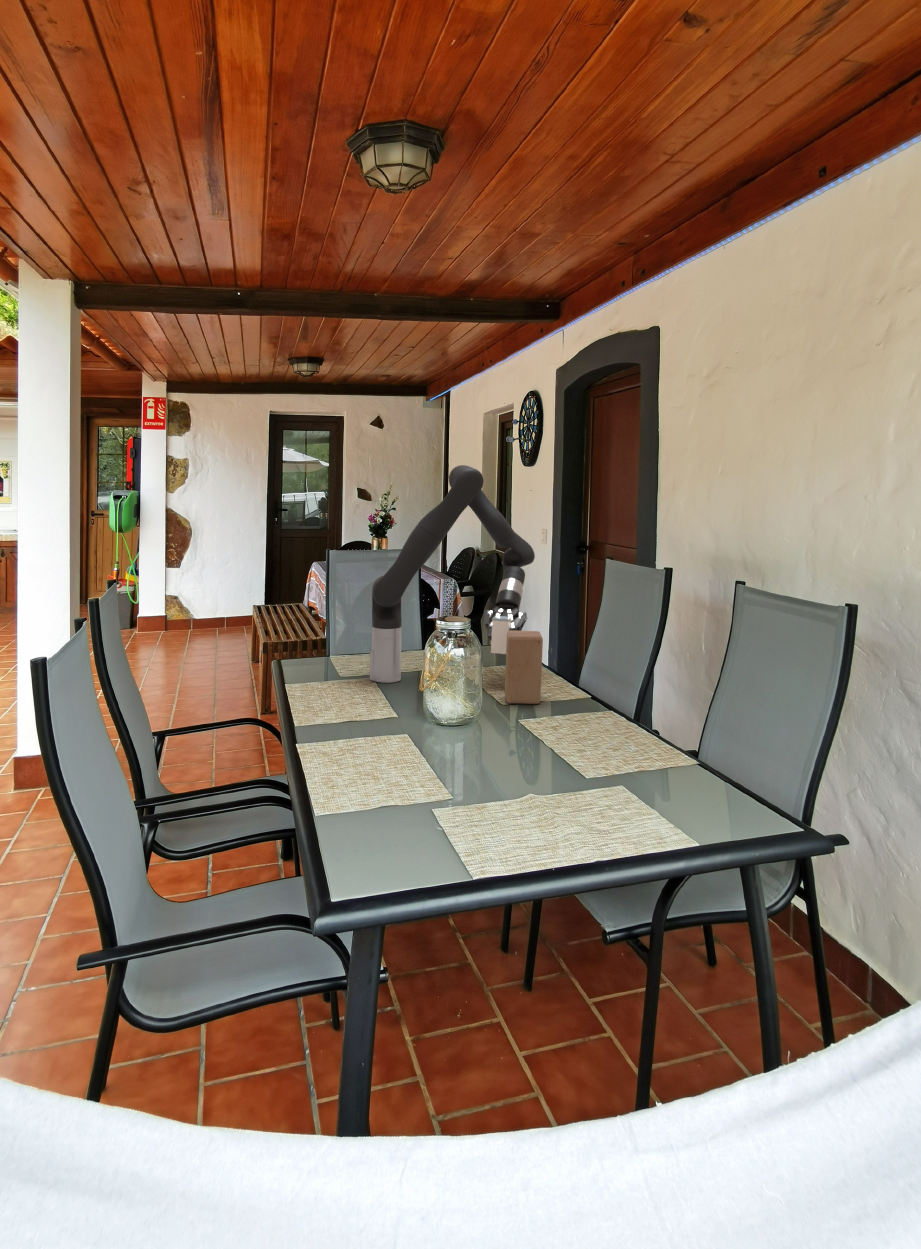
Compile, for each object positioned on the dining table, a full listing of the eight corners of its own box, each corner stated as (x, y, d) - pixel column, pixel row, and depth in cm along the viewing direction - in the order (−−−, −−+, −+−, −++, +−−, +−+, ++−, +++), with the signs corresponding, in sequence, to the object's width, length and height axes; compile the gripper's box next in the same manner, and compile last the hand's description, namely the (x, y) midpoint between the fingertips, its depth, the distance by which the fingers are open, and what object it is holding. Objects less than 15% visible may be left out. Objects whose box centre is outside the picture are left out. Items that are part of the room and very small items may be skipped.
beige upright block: (490, 652, 248) (492, 617, 246) (494, 649, 253) (496, 615, 251) (506, 654, 247) (508, 619, 245) (510, 651, 252) (511, 616, 250)
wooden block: (540, 704, 234) (543, 636, 231) (505, 704, 234) (508, 635, 231) (538, 696, 244) (540, 630, 241) (504, 695, 244) (506, 629, 241)
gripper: (486, 586, 256) (475, 630, 246) (531, 590, 252) (522, 634, 243) (489, 601, 262) (478, 644, 252) (533, 604, 258) (524, 648, 249)
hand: (500, 639), depth 248 cm, fingers closed on beige upright block, 5 cm apart
